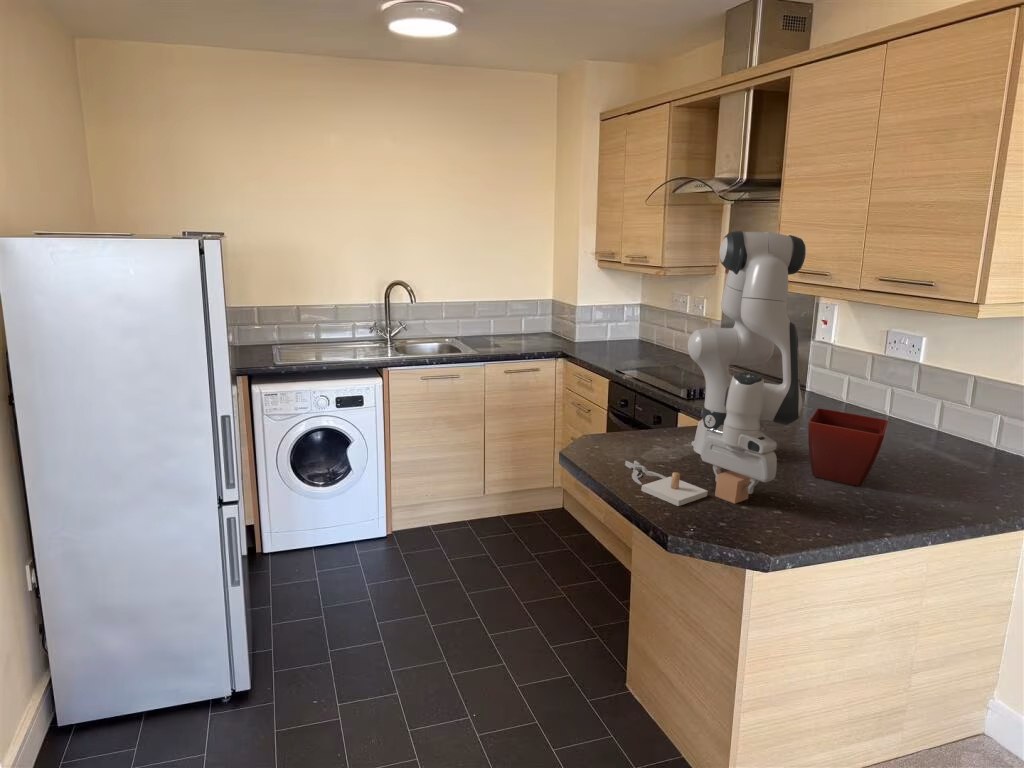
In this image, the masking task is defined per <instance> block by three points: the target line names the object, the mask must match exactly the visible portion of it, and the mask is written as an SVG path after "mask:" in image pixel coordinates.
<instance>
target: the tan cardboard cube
mask: <svg viewBox="0 0 1024 768" xmlns="http://www.w3.org/2000/svg"><path fill="white" fill-rule="evenodd" d="M750 484H751V482H750V477H747V476H744V475H741V474H739V473H736V472H733V471H730V470H727V471H726V470H725V471H724V472H721V473H720V474H718V475H717V482H716V483H715V492H714V497H716V498H719V499H721V500H724V501H727V502H730V503H731V504H738V503H741V502H742V501H746V500H749V495H750V494H748V493H746V492H744V491H745V486H748V485H750Z"/></svg>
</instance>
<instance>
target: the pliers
mask: <svg viewBox="0 0 1024 768" xmlns="http://www.w3.org/2000/svg"><path fill="white" fill-rule="evenodd" d="M624 463H625V464H624V466H626V467H627V468H628V469H631V470H632V473H631V478H632V480H633V481H634V482H635V483H636V484H638V485H640V486H642V485H643V483H642V482H641V481H640V480H639V478H642V476H643V473H644V474H646V476H649V477H654V478H660V479H664V478H667V477H666V476H665V475H663V474H660V473H658V472H654V471H650V470H648V469H647V468H646V466H644V465H641V463H640V462H638V461H637V460H634V461H633V462H630V461H628V460H625V462H624ZM640 471H642V473H641V474H640V475H639V472H640Z"/></svg>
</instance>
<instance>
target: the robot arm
mask: <svg viewBox="0 0 1024 768" xmlns="http://www.w3.org/2000/svg"><path fill="white" fill-rule="evenodd" d="M806 250H807V247H806V244H805V242H804V240H803V239H802V238H801V237H798V236H795V235H793V234H790V235H787V234H781V233H775V232H772V231H771V232H769V231H763V232H762V231H742V230H735V231H729V232H728V233H727V234H726V235H725V236H723V240H722V242H721V244H720V247H719V252H718V253H719V260H720V261H719V262H720V263H721V265H722V266H723V267H724V268H725V269H727V270H728V272H727V276H726V279H725V280H726V281H725V285H724V288H723V289H724V290H723V293H722V297H721V302H720V309H721V311H722V313H723V314H724V315H725V316H726V317H727V318H729V319H731V320H732V321H734V324H733V327H730V328H729V327H705V328H700V329H695V330H694V331H693V332H692V333H691V334H690V335H689V338H688V339H687V353H688V355H689V357H690V358H691V360H692V361H694V362H695V363H696V364H697V365H698V367H699V368H700V370H701V371H702V373H703V376H704V377H703V378H704V381H705V396H704V404H703V406H702V408H701V420H699V421H698V424H697V428H696V432H695V436H694V440H692V441H691V443H690V445H691V446H692V447H693V451H694V452H695V453H697V454H699V455H700V459H701V460H702V461H703V462H705V463H708V464H710V465H712V470H713V474H714V476H715V480H714V481H715V482H716V483H717V475H718V474H720V473H722V471H721V469H725V470H727V471H729V470H730V471H733V472H736V473H739V474H741V475H744V476H747V477H750V485H748V486H745V491H744V492H746V493H748V494H749V495H752V494H753V493H754V489H755V487H756V485H758V484H759V482H762V483H769V482H771V481H773V480H775V478H776V475H777V467H778V464H777V463H778V462H777V460H778V458H777V455H776V452H775V450H777V446H778V443H777V441H775V440H774V439H772V438H771V437H769V436H768V435H766V434H765V433H763V431H761V422H760V420H761V421H762V420H763V421H770V422H773V423H775V424H780V425H783V426H787V425H790V424H792V423H794V422H796V421H797V420H799V418H800V416H801V415H802V411H803V397H802V391H801V385H800V355H799V354H800V353H799V338H798V330H797V329H798V328H797V326H796V324H795V323H794V322H792V321H791V320H790V318H789V315H788V312H787V311H788V310H787V304H788V303H787V301H788V294H789V275H790V276H791V275H794V274H796V273H797V272H799V271H800V270H801V269H802V267H803V265H804V263H805V259H806V252H807V251H806ZM775 345H776V346H777V347H778V349H779V350H780V352H781V359H782V360H781V361H782V383H780V384H776V383H775V384H774V383H768V382H764V378H763V377H762V376H761V375H760V374H759V373H756V372H751V371H750V372H749V371H741V372H738V373H735V374H734V375H731V374H730V366H756V365H761V364H767V362H768V361H769V360H770V359H771V358H772V356H773V354H774V349H775Z"/></svg>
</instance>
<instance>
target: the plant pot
mask: <svg viewBox="0 0 1024 768" xmlns="http://www.w3.org/2000/svg"><path fill="white" fill-rule="evenodd" d="M810 417H811V418H810V419H809V420H808V427H807V428H808V431H807V433H808V454H809V463H810V469H811V473H812V476H813V477H816V478H818V479H823V480H828V481H833V482H836V481H837V483H840V482H842V483H841V484H845V483H847V484H846V485H849V484H851V485H850V486H854V485H856V486H855V487H861V485H862V486H863V484H864V482H865V481H866V479H867V478H868V476H869V474H870V471H872V467H873V465H874V463H875V462H876V460H877V457H878V454H879V452H880V449H881V446H882V444H883V442H884V437H885V435H886V430H887V427H888V423H889V420H887V419H882V418H876V417H871V416H866V415H861V414H854V413H848V412H843V411H838V410H830V409H825V408H817V409H816V410H815V412H814V413H813V414H812V416H810Z"/></svg>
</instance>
